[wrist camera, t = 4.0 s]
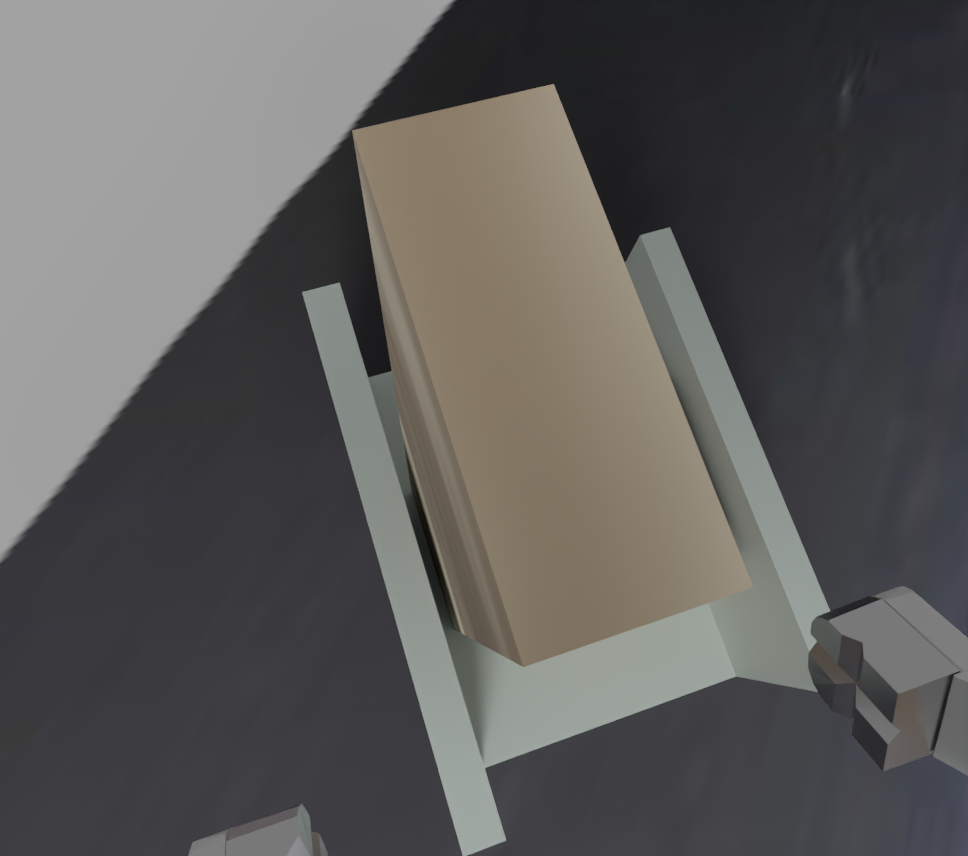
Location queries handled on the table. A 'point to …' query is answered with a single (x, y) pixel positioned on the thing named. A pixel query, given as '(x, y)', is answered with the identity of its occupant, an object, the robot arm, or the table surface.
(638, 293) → the offcut rack
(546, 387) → the birch board
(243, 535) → the table surface
